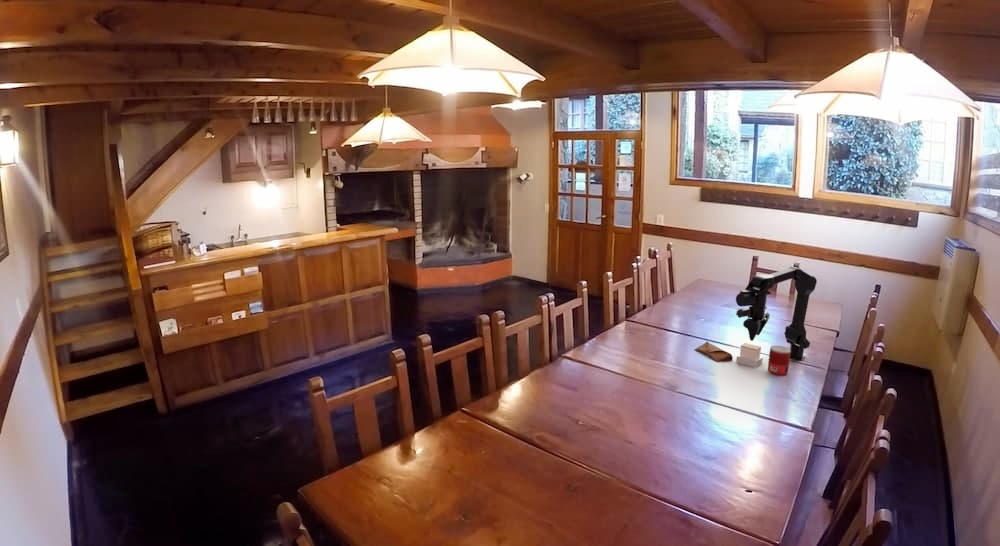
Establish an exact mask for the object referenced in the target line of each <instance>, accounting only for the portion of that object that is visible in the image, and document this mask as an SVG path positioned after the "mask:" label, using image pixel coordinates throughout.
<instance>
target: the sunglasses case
mask: <svg viewBox="0 0 1000 546" xmlns="http://www.w3.org/2000/svg"><path fill="white" fill-rule="evenodd" d="M693 350H694V351H696V352H699V353H700V354H702V355H704V356H706V357H707V358H710V359H711V360H713V361H714V362H716V363H724V362H732V361H733V358H734V357H733V355H732V354H731V353H729V351H725V350H724V349H721V348H720V347H718V346H716V345H714V344H712V343H710V342H709V341H706V342H704V343H703V344H701V345H699V346H698V347H697V348H695V349H693Z"/></svg>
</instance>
